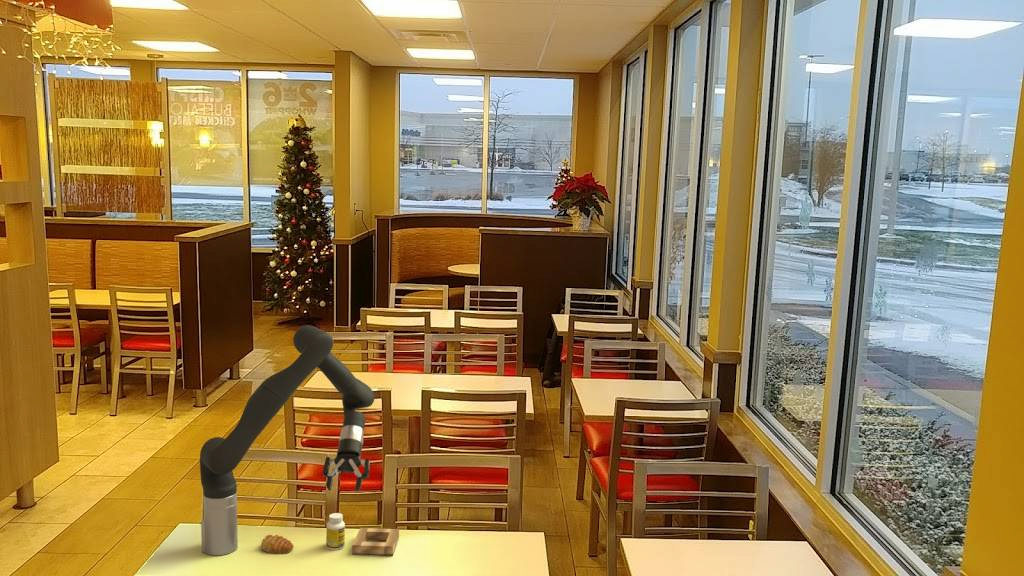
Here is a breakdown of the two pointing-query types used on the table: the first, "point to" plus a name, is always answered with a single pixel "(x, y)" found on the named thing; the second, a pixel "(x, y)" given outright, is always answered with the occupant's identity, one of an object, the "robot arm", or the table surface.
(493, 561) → the table surface
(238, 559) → the table surface
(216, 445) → the robot arm
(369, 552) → the can holder
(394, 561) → the table surface
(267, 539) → the pastry
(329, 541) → the supplement bottle
